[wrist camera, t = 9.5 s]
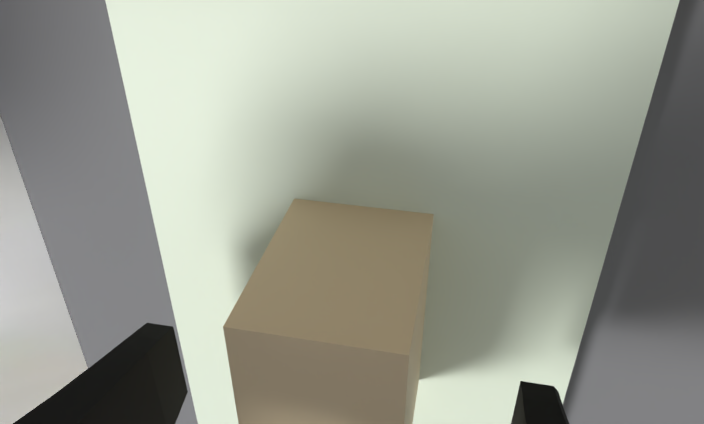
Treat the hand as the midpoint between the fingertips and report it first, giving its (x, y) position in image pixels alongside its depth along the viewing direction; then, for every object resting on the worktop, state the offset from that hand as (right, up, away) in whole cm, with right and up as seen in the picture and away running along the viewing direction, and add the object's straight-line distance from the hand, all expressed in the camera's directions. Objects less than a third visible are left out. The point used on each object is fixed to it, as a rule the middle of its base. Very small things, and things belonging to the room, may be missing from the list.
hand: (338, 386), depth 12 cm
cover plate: (+1, +2, +2) cm, 3 cm away
